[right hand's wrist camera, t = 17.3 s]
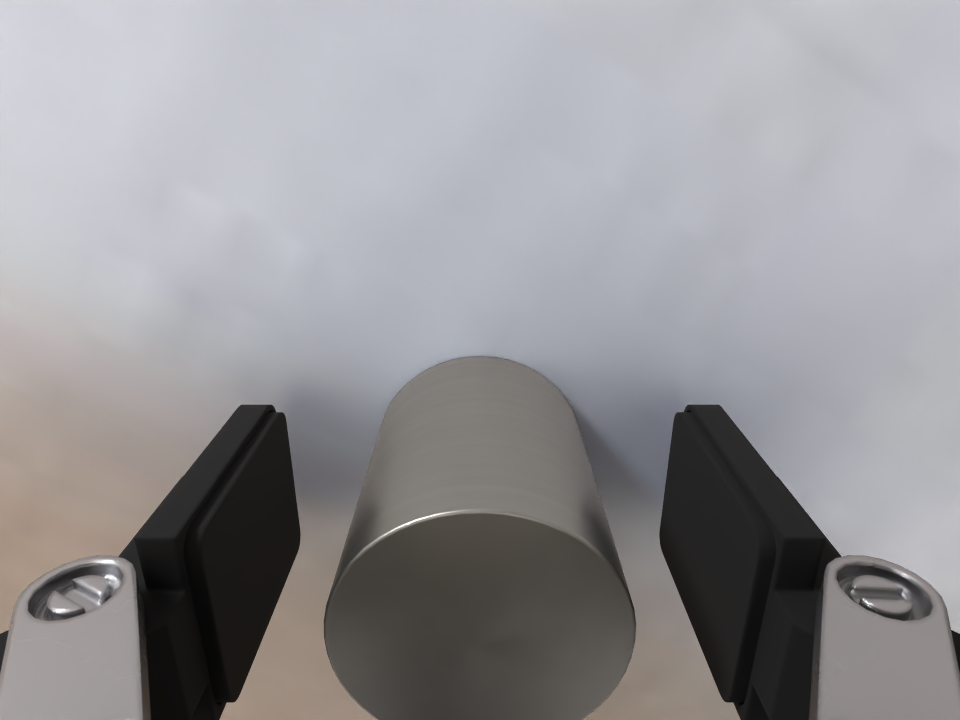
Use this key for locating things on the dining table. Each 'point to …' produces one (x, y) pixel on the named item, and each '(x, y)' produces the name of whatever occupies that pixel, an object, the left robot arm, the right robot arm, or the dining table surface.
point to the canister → (479, 558)
